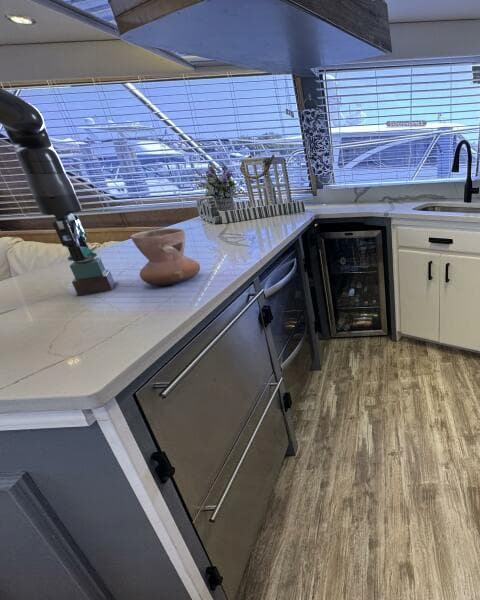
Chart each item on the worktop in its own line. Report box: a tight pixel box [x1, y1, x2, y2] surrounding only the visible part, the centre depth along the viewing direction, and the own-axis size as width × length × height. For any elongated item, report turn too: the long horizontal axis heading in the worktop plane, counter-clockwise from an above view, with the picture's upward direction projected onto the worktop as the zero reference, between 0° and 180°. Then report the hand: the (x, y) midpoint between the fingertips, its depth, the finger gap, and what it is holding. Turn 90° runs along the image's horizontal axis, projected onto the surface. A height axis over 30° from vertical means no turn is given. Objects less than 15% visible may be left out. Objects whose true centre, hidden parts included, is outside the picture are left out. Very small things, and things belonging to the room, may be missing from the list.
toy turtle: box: [67, 247, 98, 262], centre depth 85 cm, size 6×7×4 cm
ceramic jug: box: [130, 228, 201, 286], centre depth 91 cm, size 18×14×14 cm
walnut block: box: [71, 269, 116, 297], centre depth 89 cm, size 7×7×4 cm
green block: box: [69, 257, 106, 280], centre depth 87 cm, size 6×6×4 cm
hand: (82, 257), depth 86 cm, fingers closed on toy turtle, 7 cm apart
